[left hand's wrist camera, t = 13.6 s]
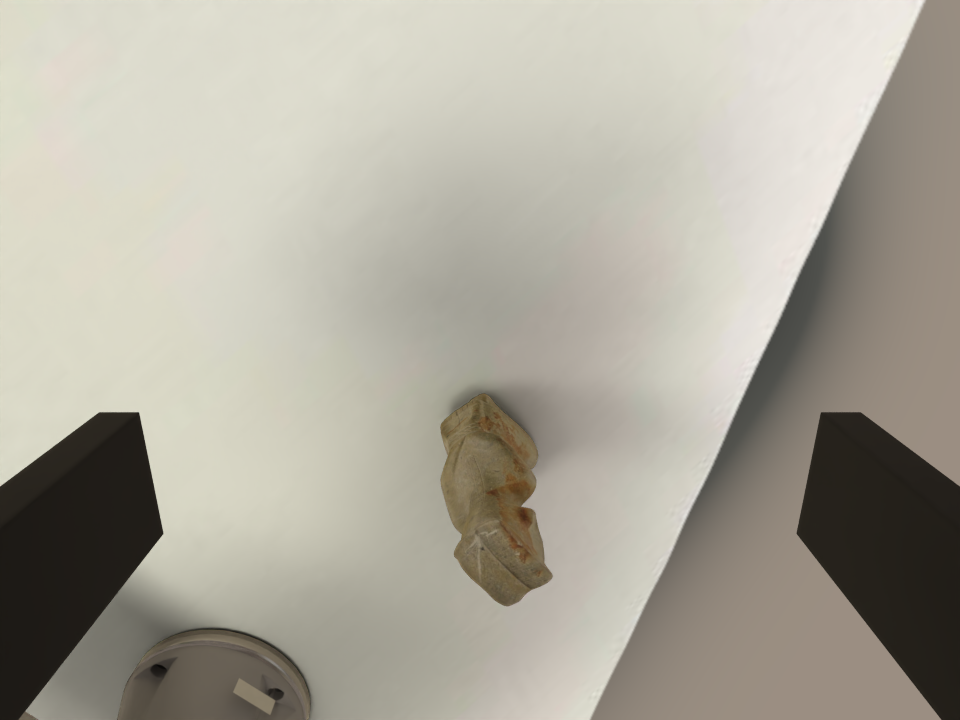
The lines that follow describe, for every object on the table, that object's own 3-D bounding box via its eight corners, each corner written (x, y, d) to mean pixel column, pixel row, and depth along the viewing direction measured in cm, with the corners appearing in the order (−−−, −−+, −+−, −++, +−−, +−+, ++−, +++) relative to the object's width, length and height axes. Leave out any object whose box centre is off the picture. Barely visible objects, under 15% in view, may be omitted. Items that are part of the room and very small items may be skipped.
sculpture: (484, 485, 48) (486, 633, 34) (427, 413, 46) (404, 539, 32) (549, 445, 47) (579, 582, 33) (494, 370, 45) (501, 481, 31)
